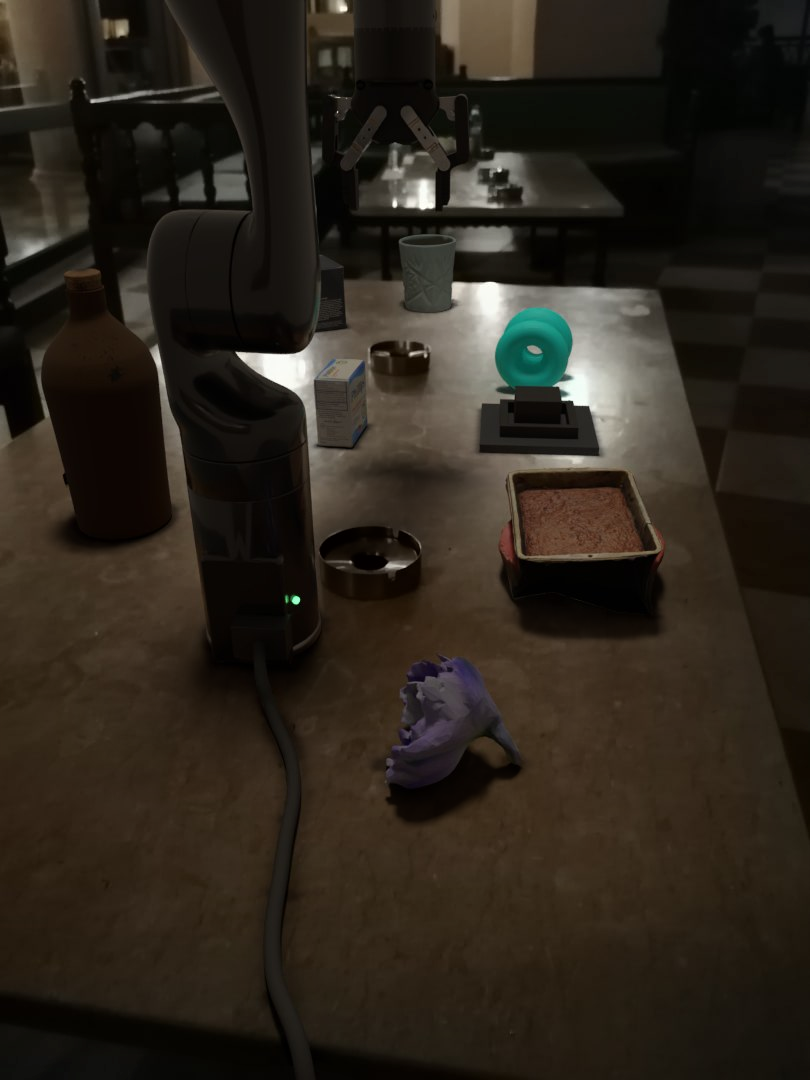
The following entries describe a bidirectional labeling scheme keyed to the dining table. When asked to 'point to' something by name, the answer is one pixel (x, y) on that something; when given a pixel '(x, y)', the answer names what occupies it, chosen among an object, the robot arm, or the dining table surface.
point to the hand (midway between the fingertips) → (396, 210)
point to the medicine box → (341, 402)
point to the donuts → (540, 332)
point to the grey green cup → (427, 271)
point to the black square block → (537, 405)
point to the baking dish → (581, 537)
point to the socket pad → (537, 431)
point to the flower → (443, 722)
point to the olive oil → (106, 417)
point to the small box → (331, 296)
